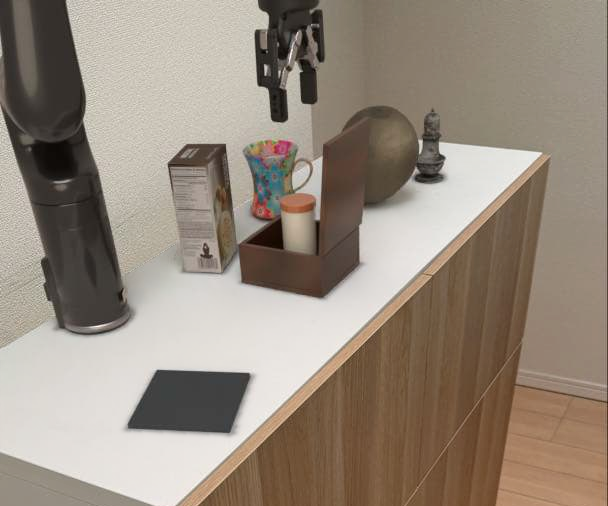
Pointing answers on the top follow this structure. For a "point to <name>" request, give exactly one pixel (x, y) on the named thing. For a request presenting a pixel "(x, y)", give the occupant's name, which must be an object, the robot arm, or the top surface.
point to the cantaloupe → (387, 151)
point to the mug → (272, 174)
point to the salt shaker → (430, 151)
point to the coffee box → (203, 206)
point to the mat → (190, 401)
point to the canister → (299, 223)
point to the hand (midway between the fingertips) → (294, 112)
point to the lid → (343, 184)
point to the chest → (295, 262)
